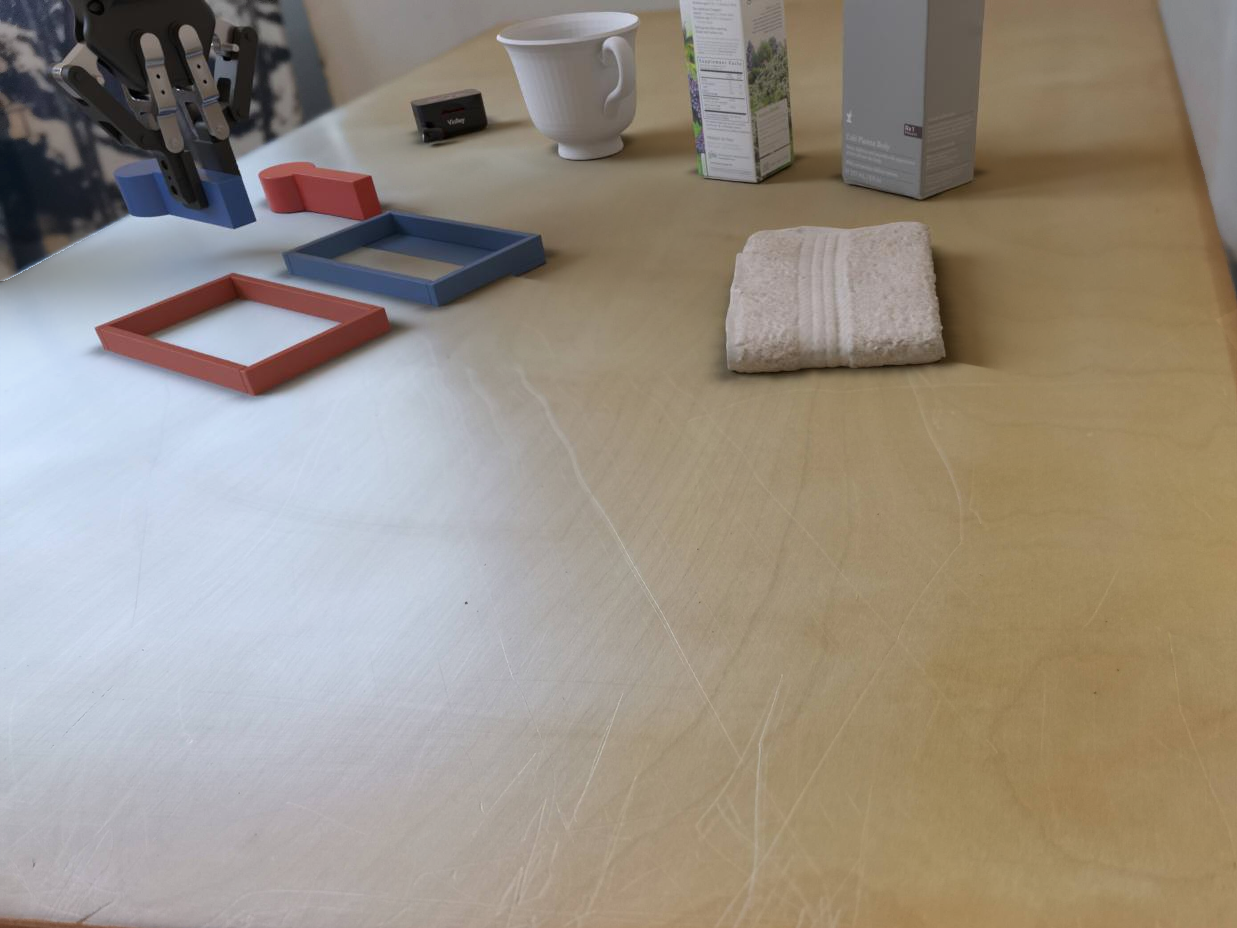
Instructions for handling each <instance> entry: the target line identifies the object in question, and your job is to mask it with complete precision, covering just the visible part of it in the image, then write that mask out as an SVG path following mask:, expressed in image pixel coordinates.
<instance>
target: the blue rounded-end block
mask: <svg viewBox="0 0 1237 928" xmlns="http://www.w3.org/2000/svg"><path fill="white" fill-rule="evenodd" d="M196 168H197V171H198V174H199V176H200V179H201V184H202V186H203V189H204V192H205V194H206V197H207V200H208V203H209V207H208V208H206V209H203V210H200V211H197V210H192V209H187V208H185V207H184V206H183V205H182V203H181V202H176V201H175V200H174V198H173V197H172V196H171V195H170V192H169V190H168V187H167V185H166V182H165V179H164V177H163V175H162V172H161V169H160V167H159V164H158V162H157V159H156V157H154V158H148V159H142V160H138V161H137V160H136V161H133V162H130V163H127V164H124V165H122V166H119V167H118V168H116V169H114V170H113V173H112V174H113V176H114V177H113V178H114V180H115V182H116V184H117V187H118V189H119V191H120V194H121V196H122V199H123V201H124V203H125V206H126V208H127V211H128V212H129V214H130V215H131V217H136V218H158V217H164V216H173V217H178V218H183V219H186V220H191V221H196V222H200V223H205V224H209V225H212V226H218V227H222V228H226V229H232V230H236V229H239V228H242V227H245V226H247V225H251V224H253V223H256V222H257V221H258V220H257V218H256V215H255V211H254V209H253V206H252V203H251V200H250V197H249V195H248V191H247V189H246V186H245V183H244V180H243V176H242V175H241V176H242V177H241V176H237V175H232V174H227V173H221V172H216V171H211V170H205V169H204V168H199V167H196Z"/></svg>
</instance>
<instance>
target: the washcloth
mask: <svg viewBox="0 0 1237 928" xmlns="http://www.w3.org/2000/svg"><path fill="white" fill-rule="evenodd" d="M931 241H932V237H931V232H930V227H929V226H927V225H926V224H924V223H922V222H919V221H896V222H890V223H885V224H878V225H872V226H871V225H870V226H862V227H859V228H858V227H857V228H840V227H829V226H814V225H813V226H812V225H801V226H797V227H787V228H782V229H774V230H769V229H768V230H766V229H764V230H763V229H762V230H758V231H756V232H754V233H752V234H751V235H750V236H749V237H748V239H747V241H746V244H745V245H744V246H743V250H742V252H738V253H736V255H735V266H734V275H733V279H732V282H731V286H730V295H729V297H730V299H729V300H730V301H729V306H728V308H727V312H726V317H725V318H726V319H725V334H726V343H725V348H726V362H727V369H728V370H730V371H736V372H738V373H747V374H759V373H763V372H765V373H771V372H772V373H778V372H781V371H784V372H792V371H793V372H794V371H798V370H800V369H811V368H813V369H814V368H816V369H820V368H821V369H822V368H823V369H824V368H837V367H849V368H852V369H858V368H870V367H883V366H905V365H919V364H920V365H921V364H931V363H934V362H938V361H940V360H942V357H943V358H945V357H946V349H945V342H944V339H943V336H942V335H943V333H942V331H943V329H944V326H943V325H942V322H941V316H940V309H941V308H940V302H939V297H938V296H937V291H936V287H937V285H935V283H936V282H937V275H936V273H934V270H935V267H934V261H933V256H932V255H933V250H932V247H931V246H932V242H931Z"/></svg>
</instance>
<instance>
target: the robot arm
mask: <svg viewBox="0 0 1237 928" xmlns="http://www.w3.org/2000/svg"><path fill="white" fill-rule="evenodd" d="M66 1H67V3H68V4H69V6H70V7H71V11H72V15H73V30H72V31H73V37H74V40H75V42H76V45H75V46H74V47H73V48H72V49H71V51H70V52H68V54H67V55H66V56H65V58H64V59H63V60H62V61H61V62H51V63H49V64H48V65H47V66H46V69H45V75H46V77H47V79H48V80H49V81H50V82H51V83H52V85H54V86H55V87H56V88H57V89H58V90H59V91H60V92H61V93H63V95H65V97H67V98H68V99H69V100H70V101H71V102H73V104H74V105H75V106H76V107H78V108H79V109H80V110H81V111H82V112H83V113H84V114H85V115H86V116H88V118H89V119H91V120H92V121H93V122H94V123H95V124H96V125H97V126H98V127H99V128H100V129H101V130H102V131H103V132H104V133H106V134H107V135H108V136H109V137H110V138H111V139H112V140H113V141H114V142H115V143H117V144H118V145H119V146H121V147H125V148H135V149H139V150H141V151H142V150H143V151H150V152H151V153H152V154H153V155H154V158H156V159H157V162H158V164H159V167H160V169H161V172H162V175H163V177H164V179H165V182H166V185H167V187H168V190H169V192H170V195H171V196H172V197H173V198H174V200H175V201H176V202H181V203H182V205H183V206H184V207H185V208H187V209H192V210H197V211H200V210H203V209H206V208H208V207H209V203H208V200H207V197H206V194H205V192H204V189H203V186H202V184H201V179H200V176H199V174H198V171H197V168H198V167H197V166H196V162H195V161H194V158H193V155H192V152H191V150H188V149H184V147H185V142H184V138H183V135H182V132H181V128H180V125H179V122H178V119H177V115H176V113H177V111H178V105H177V102H178V103H179V105H180V107H181V109H182V111H183V114H184V116H185V118H186V121H187V124H188V125H189V128H190V131H192V133H193V134H194V135H196V136H197V137H198V138H197V139H194V140H193V143H194V146H195V148H196V151H197V154H198V157H199V160H200V162H201V165H202V167H203V168H202V169H205V170H211V171H216V172H221V173H227V174H232V175H237V176H241V177H242V178H243V176H242V173H241V171H240V169H239V165H238V163H237V159H236V156H235V154H234V150H233V148H232V145H231V142H230V132H231V130H233V129H234V128H235V127H236V126H237V125H238V124H239V123H245V122H247V121H248V120H249V117H250V112H251V105H252V104H251V103H252V97H253V96H252V95H253V88H254V87H253V86H254V79H255V78H254V77H255V69H256V60H257V54H258V52H257V51H258V44H259V36H258V33H257V31H256V29H255V28H253V27H251V26H249V25H248V26H247V25H238V24H237V25H236V24H233V23H230V22H228V21H225V20H224V19H221V18H218V17H216V15H215V13H214V10H213V9H212V7H211V6H210V4H209V3H208V2H207V1H206V0H66ZM211 49H212V50H213V52H214V53H215V61H214V62H215V63H214V72H213V75H212V72H211V70H210V67H209V65H208V64H209V57H210V54H211ZM98 65H99V66H100V67H102V68H103V69H104V70H106V71H107V72H108V73H109V74H111V76H113V78H115V79H117V80H118V81H119V82H120V84H121V87H122V90H123V93H124V96H125V97H124V98H125V99H126V102H127V106H128V107H129V108H130V110H131V111H132V112H133V113H134V114H135V116H134V115H133V114H132V113H131V112H130V111H129V110H128V109H127V108H126V107H125V106H123V104H121V102H120V101H118V100H117V98H115V97H114V96H113V95H112V94H111V93H110V92H109V91H108V90H107V88H105V87H104V86H105V84H106V79H105V78H104V75H103V74H102V72H101V71H100V69H99V67H98Z"/></svg>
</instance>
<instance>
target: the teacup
mask: <svg viewBox="0 0 1237 928" xmlns="http://www.w3.org/2000/svg"><path fill="white" fill-rule="evenodd" d="M641 24H642V19H640V17H638V16H637V15H635V14H633V13H628V12H621V11H589V12H588V11H587V12H576V13H566V14H557V15H551V16H544V17H539V18H534V19H531V20H530V19H529V20H525V21H521V22H518V23H514V24H512V25H509V26H506V27H504V28H502V29H501V30H499V32H498V34H497V36H496V40H497V42H499V43H500V44H501V45H503V46H504V48H505V50H506V51H507V53H508V55H509V57H510V61H511V63H512V66H513V69H514V71H515V75H516V77H517V81H518V83H519V87H520V90H521V94H522V96H523V99H524V102H525V106H526V108H527V111H528V113H529V116H530V118H531V120H532V122H533V124H534V126H535V127H536V129H537V130H538V132H540V133H541V134H542V135H543V136H545V137H546V138H548V139H549V140H552V141H554V142H556V143H557V145H558V151H557V152H558V156H560V157H561V158H562V159H565V160H571V161H572V160H573V161H586V160H595V159H601V158H607V157H609V156H612V155H615V154H617V153H619V152H621V151H622V150H623V148H624V142H623V140H622V136H621V134H622V133H623V132H625V131H626V130H627V129H628V128H629V127H630V125H631V124H632V123H633V121H634V119H635V117H636V116H635V115H636V111H637V100H638V99H637V98H638V97H637V96H638V91H637V65H636V37H637V32H638V28H639V27H640V26H641Z"/></svg>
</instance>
